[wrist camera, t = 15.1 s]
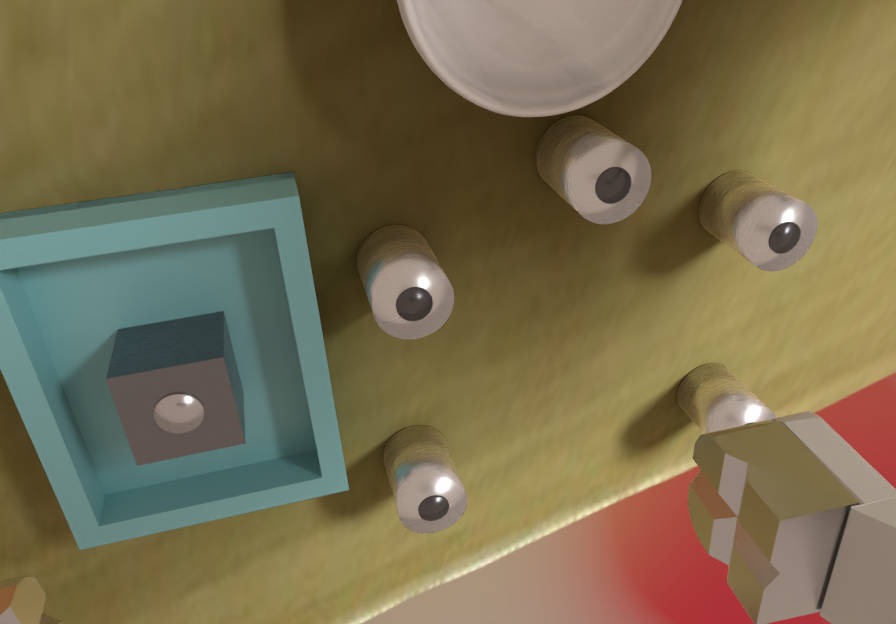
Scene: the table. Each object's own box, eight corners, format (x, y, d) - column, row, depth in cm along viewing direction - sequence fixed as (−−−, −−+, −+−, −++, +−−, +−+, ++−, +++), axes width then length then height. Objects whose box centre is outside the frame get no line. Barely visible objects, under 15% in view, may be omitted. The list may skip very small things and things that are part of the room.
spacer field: (778, 87, 37) (843, 111, 33) (726, 406, 47) (772, 453, 43) (340, 147, 33) (356, 182, 29) (386, 482, 43) (402, 542, 39)
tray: (293, 172, 33) (298, 195, 30) (341, 452, 41) (349, 490, 38) (-31, 217, 30) (-54, 247, 28) (89, 506, 38) (79, 550, 36)
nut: (223, 310, 34) (223, 358, 31) (243, 392, 36) (245, 444, 33) (117, 329, 33) (105, 380, 30) (145, 411, 36) (136, 467, 32)
